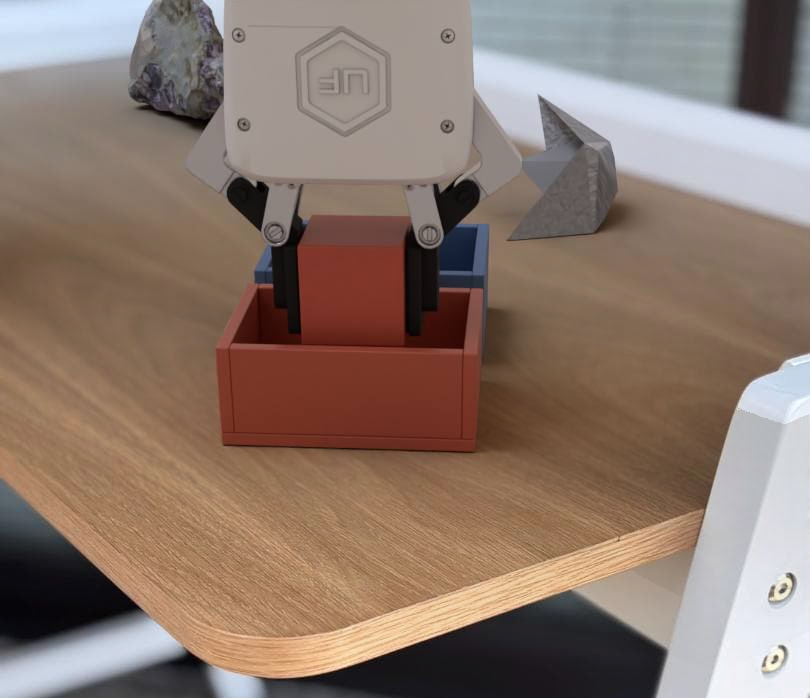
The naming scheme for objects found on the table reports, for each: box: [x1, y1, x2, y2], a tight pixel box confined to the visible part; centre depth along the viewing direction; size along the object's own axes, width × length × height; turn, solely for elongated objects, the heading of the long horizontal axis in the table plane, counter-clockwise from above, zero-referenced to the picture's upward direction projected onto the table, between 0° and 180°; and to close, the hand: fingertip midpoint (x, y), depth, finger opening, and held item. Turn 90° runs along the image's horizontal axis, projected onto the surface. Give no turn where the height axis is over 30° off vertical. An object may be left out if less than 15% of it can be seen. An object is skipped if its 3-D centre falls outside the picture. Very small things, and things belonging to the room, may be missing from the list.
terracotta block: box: [297, 214, 411, 347], centre depth 66 cm, size 4×4×4 cm
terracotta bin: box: [214, 283, 483, 453], centre depth 68 cm, size 11×8×5 cm
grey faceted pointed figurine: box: [476, 93, 619, 241], centre depth 94 cm, size 12×6×9 cm
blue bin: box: [253, 219, 490, 364], centre depth 77 cm, size 11×8×5 cm
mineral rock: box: [127, 0, 224, 120], centre depth 116 cm, size 13×11×10 cm
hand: (357, 320), depth 67 cm, fingers closed on terracotta block, 4 cm apart
